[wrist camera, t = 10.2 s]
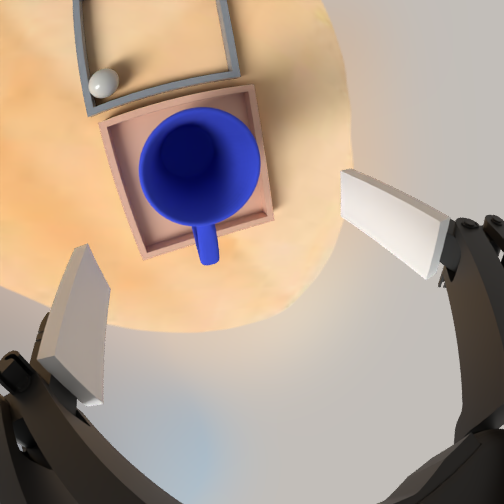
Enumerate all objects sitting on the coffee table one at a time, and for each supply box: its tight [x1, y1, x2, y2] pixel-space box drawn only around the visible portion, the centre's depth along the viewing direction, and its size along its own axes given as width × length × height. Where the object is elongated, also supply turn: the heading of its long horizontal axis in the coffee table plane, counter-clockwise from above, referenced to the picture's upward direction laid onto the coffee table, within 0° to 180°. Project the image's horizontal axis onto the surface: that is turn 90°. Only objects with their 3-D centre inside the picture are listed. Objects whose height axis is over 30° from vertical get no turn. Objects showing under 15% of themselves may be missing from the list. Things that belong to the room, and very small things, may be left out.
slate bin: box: [73, 0, 241, 117], centre depth 17 cm, size 15×15×1 cm
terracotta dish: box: [98, 84, 274, 260], centre depth 26 cm, size 15×15×2 cm
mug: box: [139, 107, 261, 265], centre depth 22 cm, size 8×12×10 cm
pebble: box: [88, 68, 119, 98], centre depth 18 cm, size 3×3×3 cm
